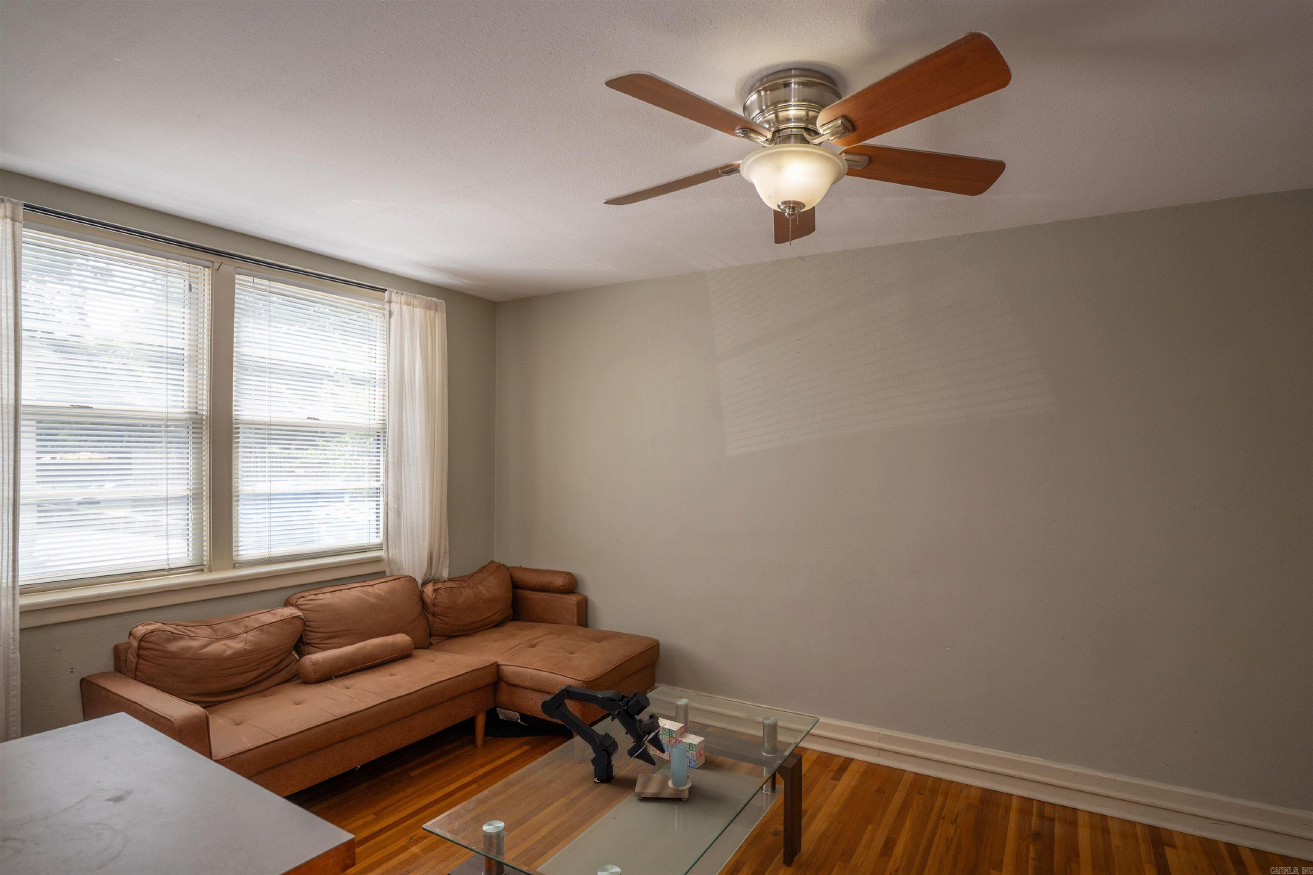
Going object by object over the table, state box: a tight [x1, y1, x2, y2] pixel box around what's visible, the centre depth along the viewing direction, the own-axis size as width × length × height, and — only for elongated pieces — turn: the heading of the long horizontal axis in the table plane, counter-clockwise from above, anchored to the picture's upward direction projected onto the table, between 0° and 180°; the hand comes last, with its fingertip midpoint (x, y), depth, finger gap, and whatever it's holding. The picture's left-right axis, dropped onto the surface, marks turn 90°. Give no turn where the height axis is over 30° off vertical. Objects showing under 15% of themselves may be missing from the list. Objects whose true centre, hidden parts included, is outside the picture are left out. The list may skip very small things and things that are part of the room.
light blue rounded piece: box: [670, 743, 688, 787], centre depth 240 cm, size 6×6×12 cm
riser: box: [634, 773, 692, 802], centre depth 241 cm, size 19×12×3 cm, turn 85°
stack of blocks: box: [649, 717, 706, 769], centre depth 265 cm, size 21×6×12 cm, turn 54°
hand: (660, 758), depth 243 cm, fingers open, 9 cm apart
